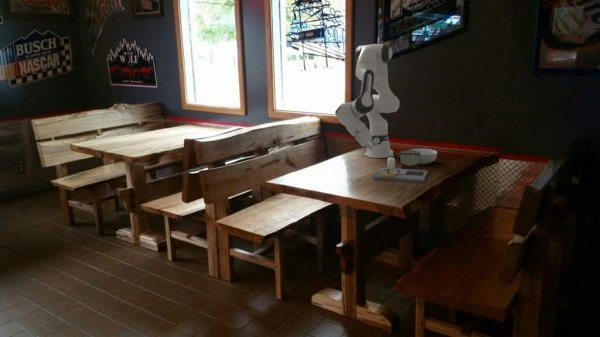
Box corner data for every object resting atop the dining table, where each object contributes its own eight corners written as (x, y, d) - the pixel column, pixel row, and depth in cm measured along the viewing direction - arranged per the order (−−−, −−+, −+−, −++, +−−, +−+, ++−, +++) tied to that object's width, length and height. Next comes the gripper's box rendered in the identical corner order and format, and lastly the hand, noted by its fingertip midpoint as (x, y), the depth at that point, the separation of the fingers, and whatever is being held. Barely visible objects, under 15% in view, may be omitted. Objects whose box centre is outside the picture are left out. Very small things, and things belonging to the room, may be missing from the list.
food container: (421, 167, 285) (421, 150, 282) (420, 169, 279) (421, 152, 276) (399, 166, 288) (399, 149, 285) (398, 169, 282) (399, 152, 280)
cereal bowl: (406, 165, 290) (406, 153, 288) (409, 159, 305) (409, 148, 304) (436, 166, 285) (436, 154, 283) (437, 160, 300) (437, 149, 299)
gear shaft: (385, 172, 276) (385, 156, 274) (398, 173, 273) (399, 157, 271) (382, 175, 269) (383, 159, 267) (396, 176, 267) (396, 160, 264)
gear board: (381, 170, 280) (381, 161, 279) (427, 173, 271) (428, 164, 270) (373, 179, 262) (373, 170, 261) (423, 182, 253) (423, 173, 252)
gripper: (358, 129, 262) (375, 148, 263) (364, 121, 281) (380, 139, 281) (349, 136, 265) (366, 156, 265) (356, 128, 283) (371, 146, 284)
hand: (373, 147), depth 273 cm, fingers open, 8 cm apart
